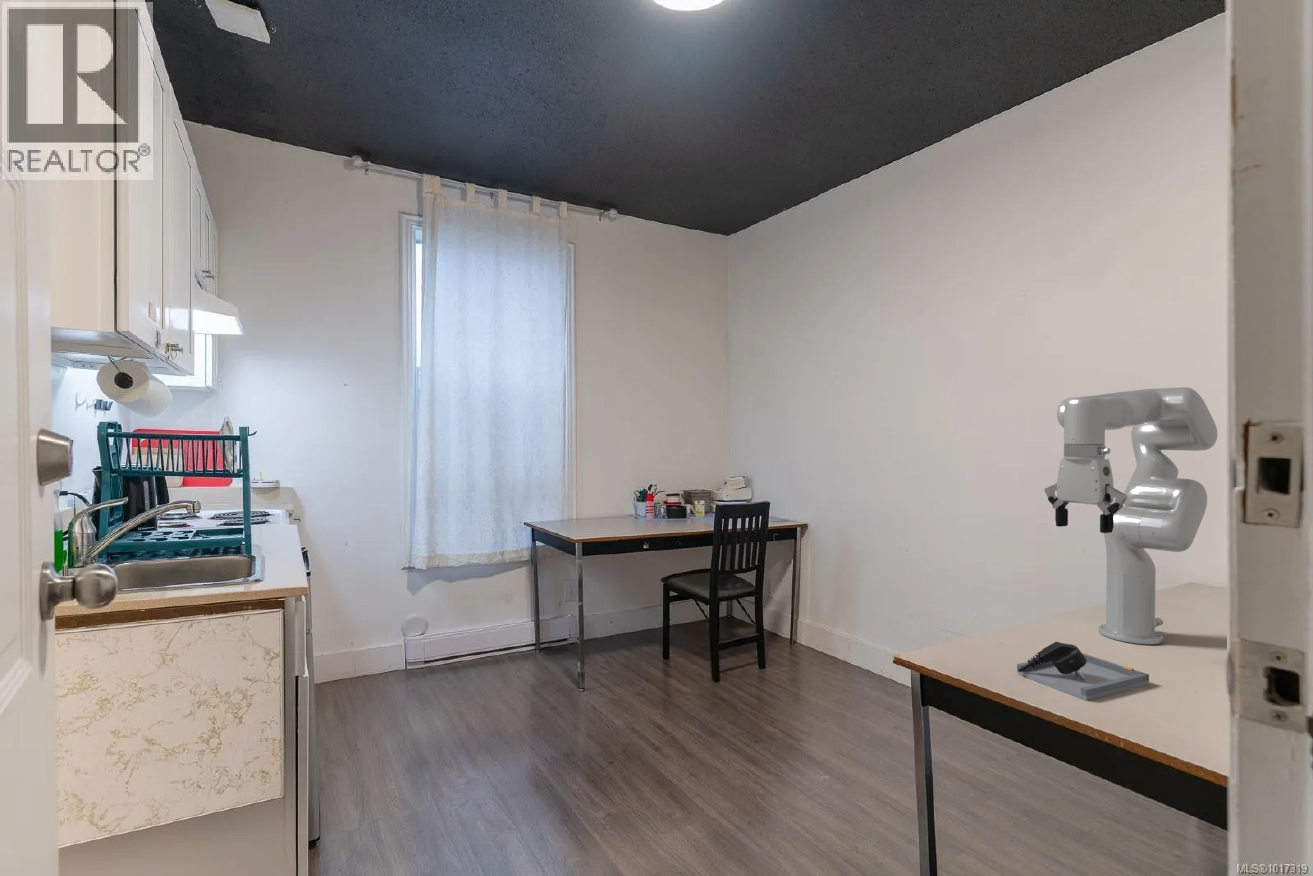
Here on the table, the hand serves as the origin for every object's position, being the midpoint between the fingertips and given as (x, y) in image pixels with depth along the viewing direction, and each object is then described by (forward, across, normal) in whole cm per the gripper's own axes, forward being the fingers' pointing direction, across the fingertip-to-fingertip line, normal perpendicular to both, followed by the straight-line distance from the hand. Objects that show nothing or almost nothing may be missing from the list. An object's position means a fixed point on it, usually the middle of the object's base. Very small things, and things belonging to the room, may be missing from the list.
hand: (1083, 529), depth 139 cm
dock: (+28, -8, +14) cm, 32 cm away
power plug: (+28, -6, +19) cm, 34 cm away
